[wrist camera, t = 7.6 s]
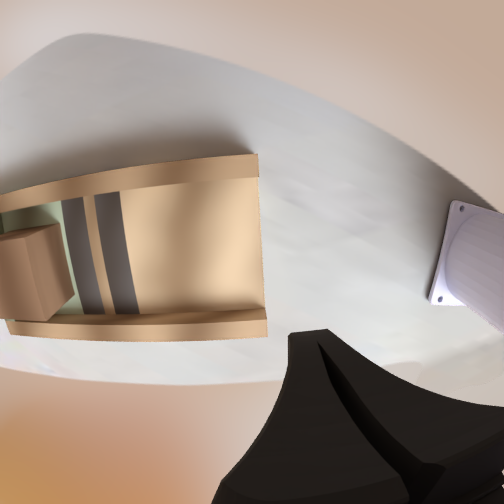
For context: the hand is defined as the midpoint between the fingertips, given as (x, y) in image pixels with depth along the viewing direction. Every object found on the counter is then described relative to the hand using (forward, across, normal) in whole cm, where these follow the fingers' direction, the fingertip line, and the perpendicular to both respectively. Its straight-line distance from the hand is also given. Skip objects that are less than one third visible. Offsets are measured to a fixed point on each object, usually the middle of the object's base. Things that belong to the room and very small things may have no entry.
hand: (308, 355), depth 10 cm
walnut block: (+9, +16, -2) cm, 19 cm away
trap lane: (+10, +11, -2) cm, 15 cm away
